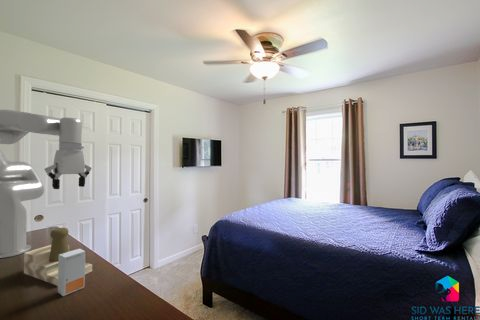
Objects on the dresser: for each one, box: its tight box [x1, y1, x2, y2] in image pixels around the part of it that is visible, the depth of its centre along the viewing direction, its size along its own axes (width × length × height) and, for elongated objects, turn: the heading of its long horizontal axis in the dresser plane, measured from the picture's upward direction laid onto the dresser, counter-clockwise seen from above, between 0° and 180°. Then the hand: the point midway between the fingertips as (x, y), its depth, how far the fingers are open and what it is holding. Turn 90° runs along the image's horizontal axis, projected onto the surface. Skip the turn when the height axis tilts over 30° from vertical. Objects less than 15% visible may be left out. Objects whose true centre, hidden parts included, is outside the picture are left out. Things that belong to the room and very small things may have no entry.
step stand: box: [23, 244, 93, 287], centre depth 83 cm, size 21×11×8 cm, turn 67°
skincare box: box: [57, 248, 86, 297], centre depth 71 cm, size 6×4×12 cm
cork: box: [49, 227, 70, 262], centre depth 83 cm, size 6×6×11 cm
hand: (69, 187), depth 95 cm, fingers open, 9 cm apart
